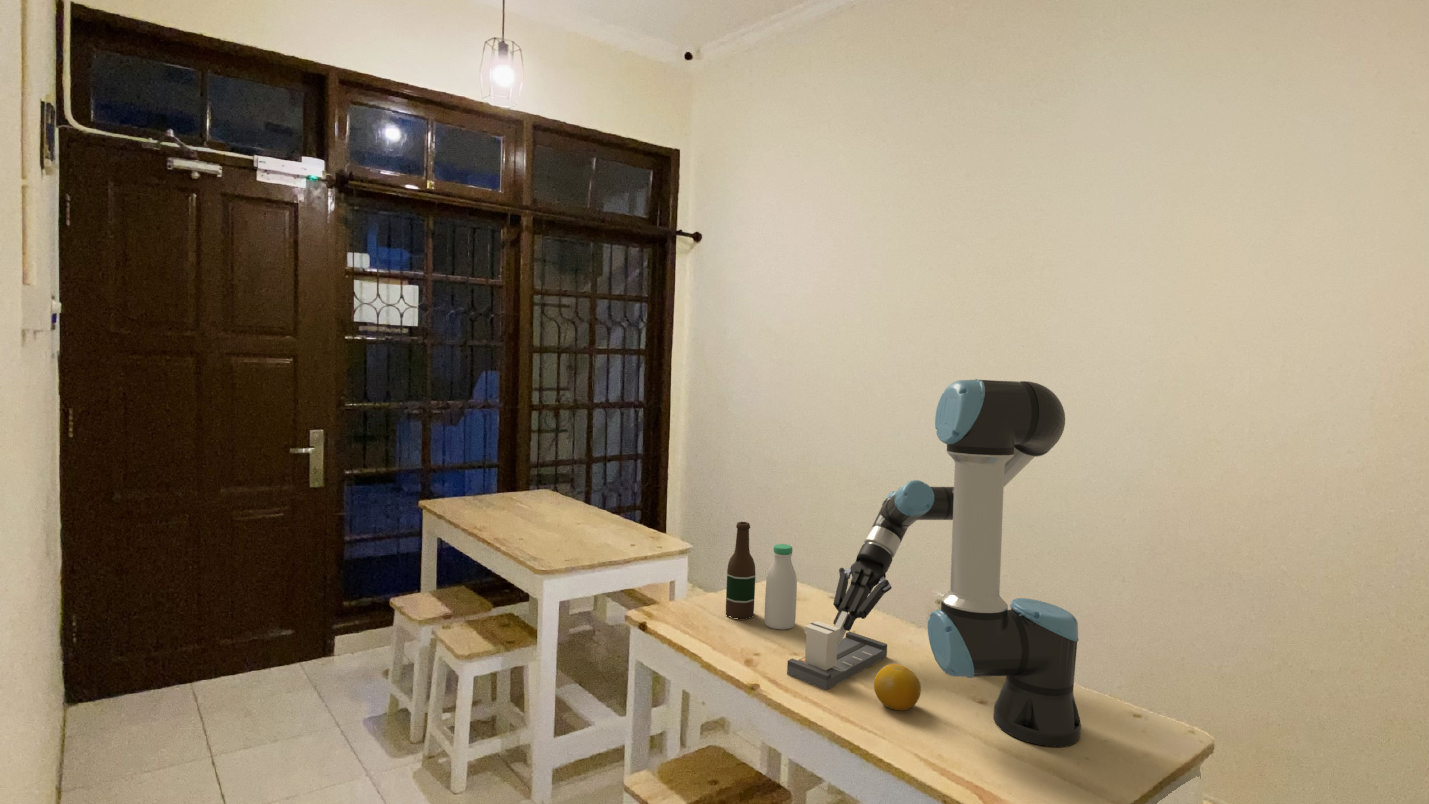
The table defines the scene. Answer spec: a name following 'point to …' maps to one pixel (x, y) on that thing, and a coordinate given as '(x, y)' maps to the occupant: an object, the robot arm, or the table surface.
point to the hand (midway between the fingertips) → (834, 640)
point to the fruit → (897, 687)
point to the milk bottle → (781, 590)
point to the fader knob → (821, 645)
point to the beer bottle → (741, 577)
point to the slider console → (841, 661)
